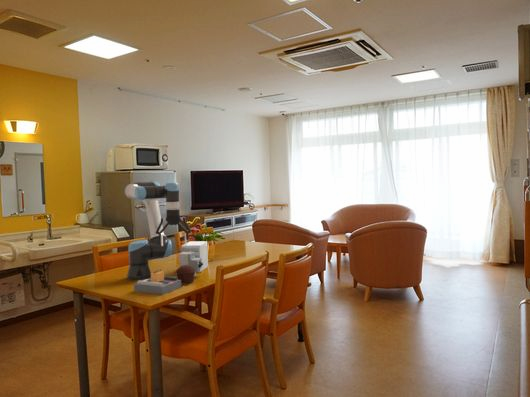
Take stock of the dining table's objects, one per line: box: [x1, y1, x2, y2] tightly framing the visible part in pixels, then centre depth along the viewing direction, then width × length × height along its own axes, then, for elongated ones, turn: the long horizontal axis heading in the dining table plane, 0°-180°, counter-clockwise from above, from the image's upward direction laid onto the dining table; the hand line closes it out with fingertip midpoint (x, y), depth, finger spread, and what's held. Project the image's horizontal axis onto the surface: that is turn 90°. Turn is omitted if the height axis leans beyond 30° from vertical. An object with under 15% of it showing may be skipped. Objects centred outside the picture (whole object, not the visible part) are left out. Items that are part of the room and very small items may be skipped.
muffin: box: [175, 265, 196, 285], centre depth 240 cm, size 12×11×10 cm
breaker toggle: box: [150, 269, 165, 282], centre depth 226 cm, size 4×6×6 cm, turn 155°
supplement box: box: [180, 240, 209, 273], centre depth 274 cm, size 17×13×18 cm
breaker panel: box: [133, 275, 182, 295], centre depth 226 cm, size 20×16×6 cm
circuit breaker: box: [177, 252, 203, 277], centre depth 254 cm, size 8×14×15 cm, turn 79°
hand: (174, 245), depth 236 cm, fingers open, 13 cm apart
